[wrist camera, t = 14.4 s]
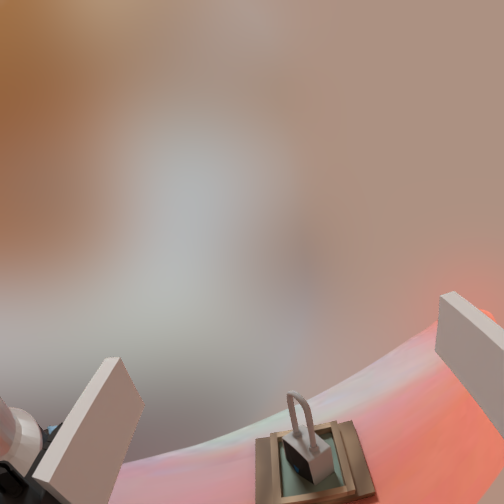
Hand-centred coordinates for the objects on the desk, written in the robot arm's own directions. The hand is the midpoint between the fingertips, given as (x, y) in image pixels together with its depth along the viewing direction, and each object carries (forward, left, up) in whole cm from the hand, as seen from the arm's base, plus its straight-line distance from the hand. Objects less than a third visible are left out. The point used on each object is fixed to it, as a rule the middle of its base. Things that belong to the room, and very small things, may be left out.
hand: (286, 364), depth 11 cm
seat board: (0, +15, -32) cm, 35 cm away
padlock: (0, +15, -31) cm, 34 cm away
